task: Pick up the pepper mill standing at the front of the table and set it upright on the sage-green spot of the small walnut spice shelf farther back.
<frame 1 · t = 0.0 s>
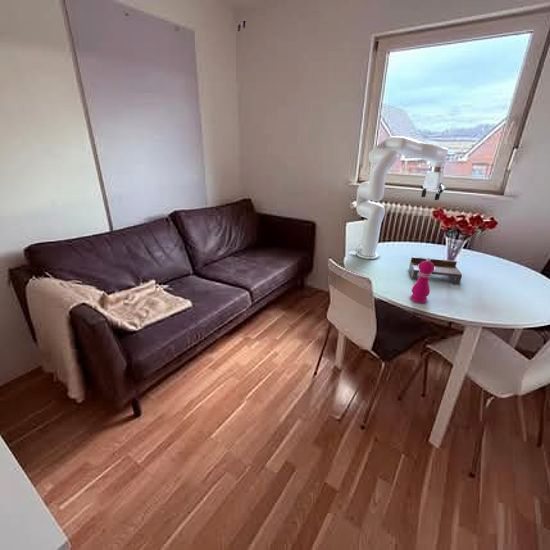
hand: (429, 198, 194), 31 cm above the table, tool pointing down, fingers open, 9 cm apart
spice shelf: (432, 277, 161), on the table
pepper mill: (418, 300, 139), on the table
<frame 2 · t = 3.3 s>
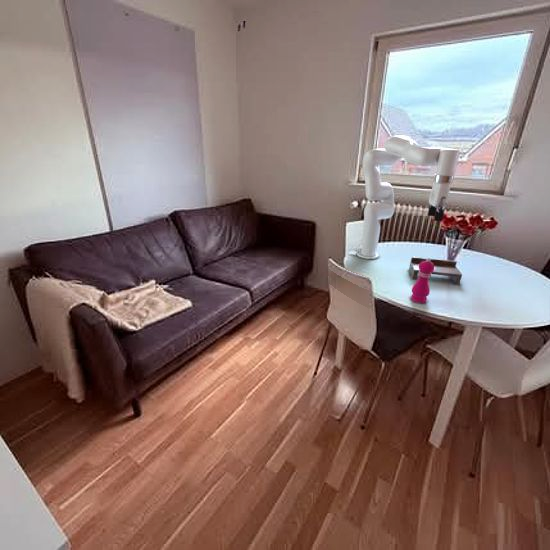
hand: (434, 218, 142), 33 cm above the table, tool pointing down, fingers open, 9 cm apart
nothing on the table moved.
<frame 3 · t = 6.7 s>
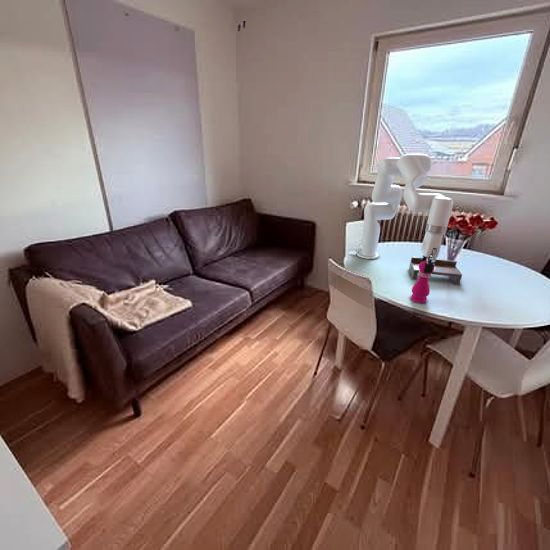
hand: (426, 269, 132), 15 cm above the table, tool pointing down, fingers closed on pepper mill, 6 cm apart
pepper mill: (418, 300, 139), on the table, touching gripper
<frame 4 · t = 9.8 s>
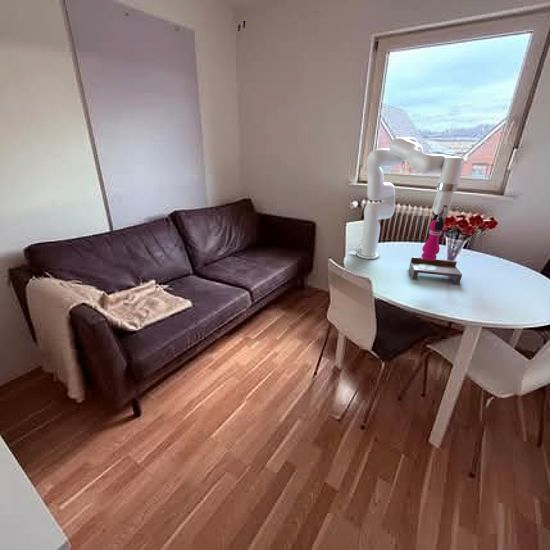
hand: (436, 227, 140), 29 cm above the table, tool pointing down, fingers closed on pepper mill, 6 cm apart
pepper mill: (428, 258, 147), point 14 cm above the table, touching gripper
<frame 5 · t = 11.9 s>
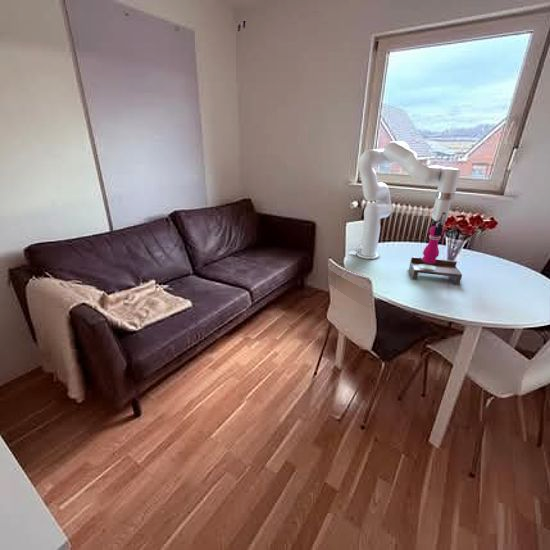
hand: (435, 233, 152), 24 cm above the table, tool pointing down, fingers closed on pepper mill, 6 cm apart
pepper mill: (428, 261, 158), point 9 cm above the table, touching gripper
when the fingers open (21 cm above the table, at t = 13.2 s): pepper mill stays where it is, resting on spice shelf.
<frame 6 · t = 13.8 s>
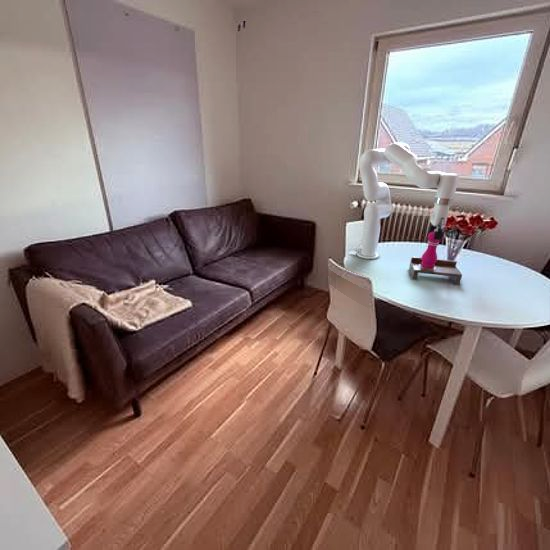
hand: (434, 236, 152), 22 cm above the table, tool pointing down, fingers open, 9 cm apart
pepper mill: (427, 267, 159), point 6 cm above the table, touching spice shelf
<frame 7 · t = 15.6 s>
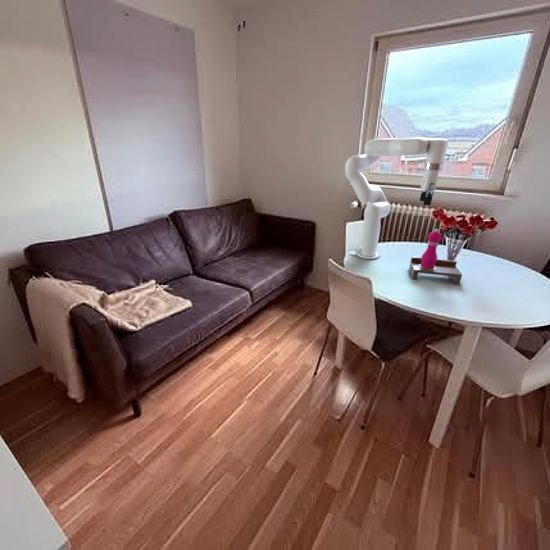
hand: (424, 202, 156), 36 cm above the table, tool pointing down, fingers open, 9 cm apart
nothing on the table moved.
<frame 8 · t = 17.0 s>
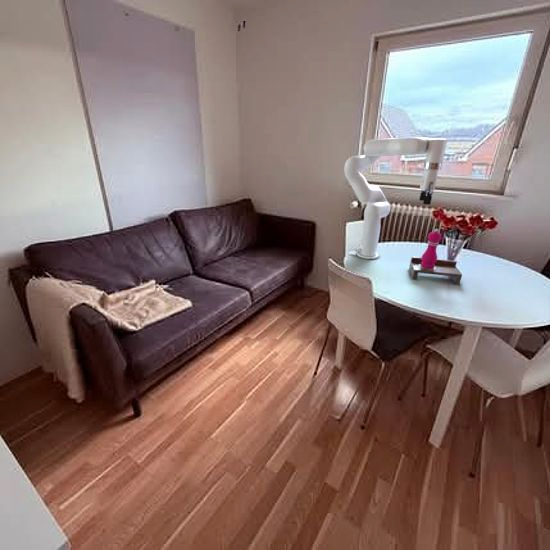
hand: (424, 202, 156), 36 cm above the table, tool pointing down, fingers open, 9 cm apart
nothing on the table moved.
at the end: pepper mill inside the target area on the spice shelf (0.5 cm from its centre), point 5.5 cm above the spice shelf's base; pepper mill tilted 0°; the gripper is holding nothing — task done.
